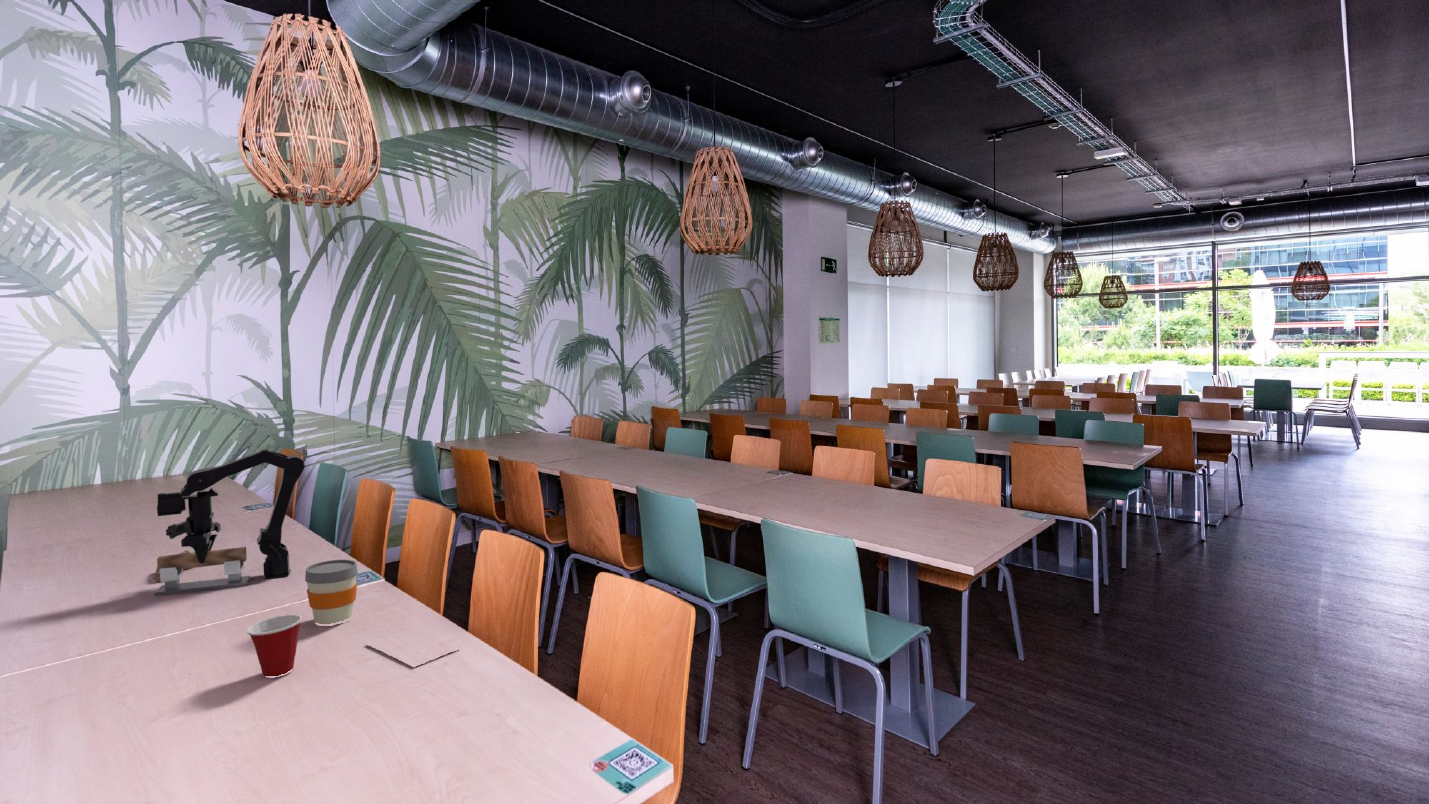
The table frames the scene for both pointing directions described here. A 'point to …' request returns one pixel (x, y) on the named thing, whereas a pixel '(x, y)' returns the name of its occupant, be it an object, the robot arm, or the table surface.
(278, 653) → the plastic cup
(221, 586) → the bracket stand
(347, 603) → the reusable coffee cup
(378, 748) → the table surface
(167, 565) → the rail
